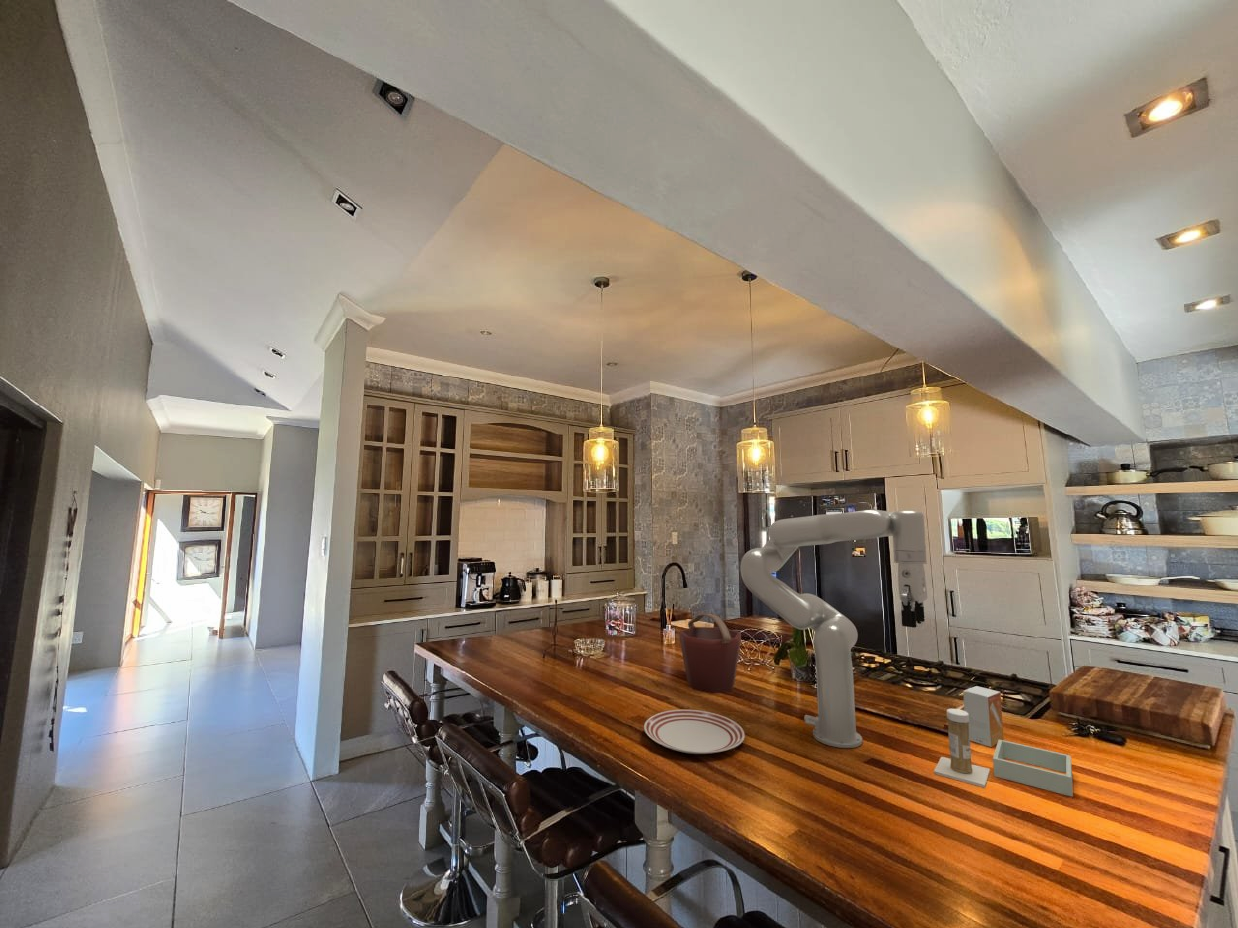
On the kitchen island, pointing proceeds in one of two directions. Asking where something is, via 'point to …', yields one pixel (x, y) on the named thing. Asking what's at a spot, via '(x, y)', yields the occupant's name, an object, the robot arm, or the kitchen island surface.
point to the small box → (984, 715)
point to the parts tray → (1033, 774)
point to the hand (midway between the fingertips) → (913, 623)
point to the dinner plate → (694, 731)
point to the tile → (975, 777)
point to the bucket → (710, 655)
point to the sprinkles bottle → (959, 740)
